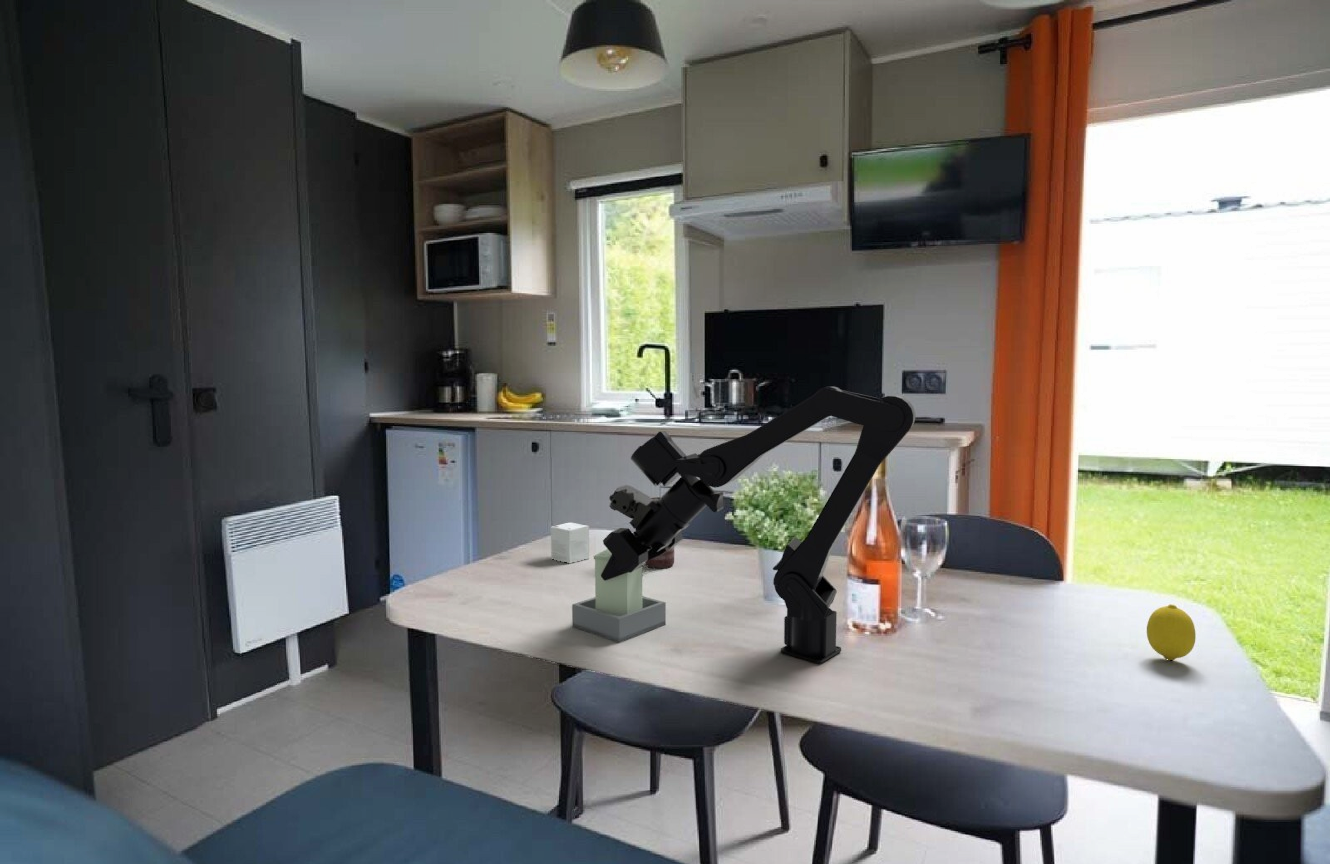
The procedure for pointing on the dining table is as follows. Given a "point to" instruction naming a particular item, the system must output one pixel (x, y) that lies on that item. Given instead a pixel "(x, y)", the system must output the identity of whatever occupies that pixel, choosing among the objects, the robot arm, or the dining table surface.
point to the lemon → (1171, 632)
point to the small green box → (617, 589)
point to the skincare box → (570, 542)
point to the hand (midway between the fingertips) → (611, 573)
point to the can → (662, 557)
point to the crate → (618, 619)
